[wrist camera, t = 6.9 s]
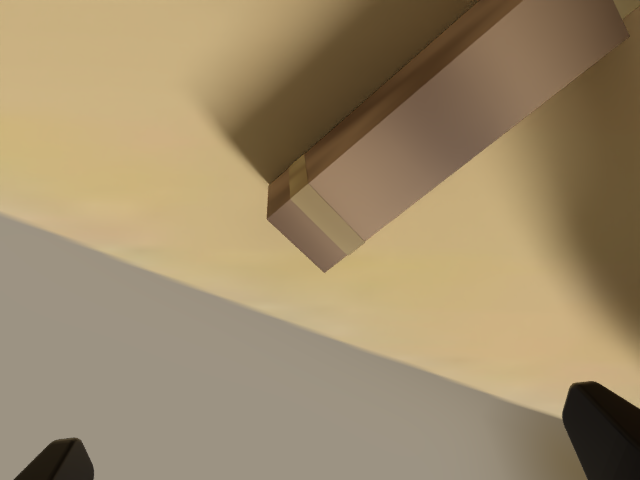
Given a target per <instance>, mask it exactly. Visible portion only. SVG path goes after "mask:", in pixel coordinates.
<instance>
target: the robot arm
mask: <svg viewBox="0 0 640 480" xmlns="http://www.w3.org/2000/svg"><path fill="white" fill-rule="evenodd" d="M562 418H563V423H564V426H565V429H566V431H567V433H568V435H569V438H570V440H571V442H572V445H573V447H574V449H575V451H576V454H577V456H578V458H579V461H580V463H581V465H582V467H583V470H584V472H585V474H586V477H587V479H588V480H640V409H639V408H637V407H636V406H634V405H633V404H631V403H629V402H628V401H626V400H625V399H623V398H622V397H620V396H618V395H617V394H615V393H614V392H612V391H610V390H609V389H607V388H606V387H604V386H602V385H601V384H599V383H597V382H594V381H588V382H578V383H573V384H572V385H571V386H570V388H569V391H568V395H567V398H566V402H565V405H564V408H563V412H562ZM93 479H94V469H93V464H92V462H91V460H90V458H89V456H88V454H87V452H86V449H85V447H84V445H83V443H82V441H81V440H80V439H78V438H66V439H59V440H55V441H53V442H52V443H50V444H49V445H48V446H47V447H46V448H45V449H44V450H43V451H42V452H41V453H40V454H39V455H38V456H37V457H36V458H35V459H34V460H33V461H32V462H31V463H30V464H29V465H28V466H27V467H26V468H25V469H24V470H23V471H22V472H21V473H20V474H19V475H18V476H17V477H16V478H15V479H14V480H93Z"/></svg>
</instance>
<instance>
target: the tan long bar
mask: <svg viewBox="0 0 640 480" xmlns="http://www.w3.org/2000/svg"><path fill="white" fill-rule="evenodd" d="M639 6H640V0H479V1H478V2H477V3H476V4H475V5H474V6H472V7H471V8H470V9H469V10H468V11H467V12H466V13H465V14H463V15H462V16H461V17H460V18H459V19H458V20H457V21H455V22H454V23H453V24H452V25H451V26H450V27H449V28H447V29H446V30H445V31H444V32H443V33H442V34H441V35H439V36H438V37H437V38H436V39H435V40H434V41H433V42H431V43H430V44H429V45H428V46H427V47H426V48H425V49H424V50H422V51H421V52H420V53H419V54H418V55H417V56H416V57H414V58H413V59H412V60H411V61H410V62H409V63H408V64H406V65H405V66H404V67H403V68H402V69H401V70H400V71H398V72H397V73H396V74H395V75H394V76H393V77H392V78H391V79H389V80H388V81H387V82H386V83H385V84H384V85H383V86H381V87H380V88H379V89H378V90H377V91H376V92H375V93H373V94H372V95H371V96H370V97H369V98H368V99H367V100H365V101H364V102H363V103H362V104H361V105H360V106H359V107H357V108H356V109H355V110H354V111H353V112H352V113H351V114H350V115H348V116H347V117H346V118H345V119H344V120H343V121H342V122H340V123H339V124H338V125H337V126H336V127H335V128H334V129H332V130H331V131H330V132H329V133H328V134H327V135H326V136H324V137H323V138H322V139H321V140H320V141H319V142H318V143H317V144H315V145H314V146H313V147H312V148H311V149H310V150H309V151H307V152H306V153H305V154H303V155H302V156H301V157H300V158H299V159H298V160H296V161H295V162H294V163H293V164H292V165H291V166H290V167H289V168H288V169H287V170H286V171H285V172H283V173H282V174H281V175H280V176H279V177H278V178H277V179H276V180H274V181H273V182H272V183H271V184H270V185H269V187H268V206H267V220H268V221H269V222H270V223H271V224H272V225H273V226H275V227H276V228H277V229H278V230H279V231H280V232H281V233H282V234H283V235H284V236H285V237H286V238H287V239H289V240H290V241H291V242H292V243H293V244H294V245H295V246H296V247H297V248H298V249H299V250H300V251H301V252H302V253H304V254H305V255H306V256H307V257H308V258H309V259H310V260H311V261H312V262H313V263H314V264H315V265H316V266H318V267H319V268H320V269H321V270H322V271H323V272H324V273H325V272H326V271H327V270H329V269H330V268H331V267H333V266H334V265H335V264H337V263H338V262H339V261H340V260H342V259H343V258H344V257H346V256H347V255H348V256H349V255H350V254H351V253H352V252H354V251H355V250H356V249H358V248H359V247H360V246H361V245H363V244H364V243H365V241H366V240H368V239H369V238H370V237H371V236H373V235H374V234H375V233H377V232H378V231H379V230H380V229H382V228H383V227H384V226H386V225H387V224H388V223H389V222H391V221H392V220H393V219H395V218H396V217H397V216H399V215H400V214H401V213H402V212H404V211H405V210H406V209H408V208H409V207H410V206H411V205H413V204H414V203H415V202H417V201H418V200H419V199H420V198H422V197H423V196H424V195H426V194H427V193H428V192H430V191H431V190H432V189H433V188H435V187H436V186H437V185H439V184H440V183H441V182H442V181H444V180H445V179H446V178H448V177H449V176H450V175H452V174H453V173H454V172H455V171H457V170H458V169H459V168H461V167H462V166H463V165H464V164H466V163H467V162H468V161H470V160H471V159H472V158H473V157H475V156H476V155H477V154H479V153H480V152H481V151H483V150H484V149H485V148H486V147H488V146H489V145H490V144H492V143H493V142H494V141H495V140H497V139H498V138H499V137H501V136H502V135H503V134H504V133H506V132H507V131H508V130H510V129H511V128H512V127H514V126H515V125H516V124H517V123H519V122H520V121H521V120H523V119H524V118H525V117H526V116H528V115H529V114H530V113H532V112H533V111H534V110H535V109H537V108H538V107H539V106H541V105H542V104H543V103H545V102H546V101H547V100H548V99H550V98H551V97H552V96H554V95H555V94H556V93H557V92H559V91H560V90H561V89H563V88H564V87H565V86H566V85H568V84H569V83H570V82H572V81H573V80H574V79H576V78H577V77H578V76H579V75H581V74H582V73H583V72H585V71H586V70H587V69H588V68H590V67H591V66H592V65H594V64H595V63H596V62H598V61H599V60H600V59H601V58H603V57H604V56H605V55H607V54H608V53H609V52H610V51H612V50H613V49H614V48H616V47H617V46H618V45H619V44H621V43H622V42H623V41H625V40H626V39H627V38H629V37H630V35H629V33H628V31H627V29H626V27H625V25H624V23H623V20H622V19H623V18H625V17H626V16H627V15H628V14H630V13H631V12H632V11H633V10H635V9H636V8H637V7H639Z"/></svg>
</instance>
